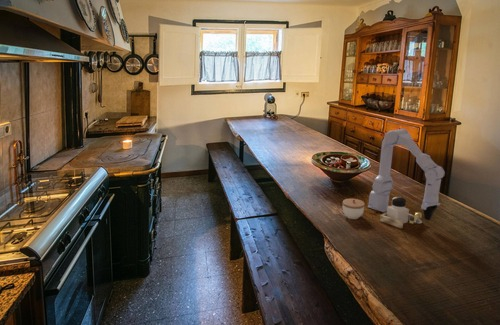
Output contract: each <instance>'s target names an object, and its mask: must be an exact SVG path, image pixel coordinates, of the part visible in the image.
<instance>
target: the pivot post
mask: <svg viewBox="0 0 500 325" xmlns="http://www.w3.org/2000/svg"><path fill="white" fill-rule="evenodd" d="M422 223H423V221H422V220H421V218H418V219H417V220H416V221H415V222H414V223H413V224H421V225H422Z"/></svg>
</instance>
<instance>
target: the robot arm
mask: <svg viewBox="0 0 500 325" xmlns="http://www.w3.org/2000/svg"><path fill="white" fill-rule="evenodd" d="M397 145H399V146H405V148H406V149H407V150H408V151H410V153H411V154H412V155H413V156H414V157H415V163H417V165H418V166H419V167H420V168H421V170H423V171H424V176H425V177H424V178H425V188H424V195H423V199H422V203H421V205H420V210H422V211H423V217H424V220H426V221H430V220H432V219H431V218H432V217H433V214H434V213H435V211H436V209H437V208H438V206H440V205H441V203H440V202H439V194H440V188H441V182H442V179H443V177H445V174H446V172H445V170H444V168H443V167H442V166H440V165H438V164H437V163H436V162H434V160H433V159H432V158H431V155H429V154H427V153H423V152H422V150H421V149H420V148H419V146H418V145H417V143H415V141H414V139H413V138H412V135H411V133H410V132H409V131H408V129H406V128H401V129H400V128H399V129H394V130H388V131H387V132H385V134H384V138H383V140H382V142H381V149H380V150H381V151H380V159H379V160H380V161H379V169H378V175H377V176H376V177H375V178H374V180H373V183H372V187H371V188H372V190H371V191H370V193H369V196H368V205H367V208H369V209H373V210H374V211H378V212H382V213H386V212H387V207H388V206H389V203H390V202H389V200H390V193H391V191H392V190H393V189H394V183H393V177H392V176H391V168H392V162H393V150H394V147H395V146H397Z"/></svg>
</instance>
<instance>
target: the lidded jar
mask: <svg viewBox="0 0 500 325" xmlns="http://www.w3.org/2000/svg"><path fill="white" fill-rule="evenodd" d="M342 211H343V214H344V215H345V217H346V218H348V219H349V220H357V219H358V220H359V218H361V217H362V216H363V214H364V211H365V202H364V201H363V200H361V199H357V198H345V199H343V201H342Z"/></svg>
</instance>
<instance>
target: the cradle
mask: <svg viewBox="0 0 500 325" xmlns="http://www.w3.org/2000/svg"><path fill="white" fill-rule="evenodd" d="M386 215H387V211H385V212H383V213H382V214H380V215H379V216H380V217H379V218H380V219H379V222H382V223H385V224H387V225H391V226H393V227H396V228H399V229H404V224H405V223H404V222H402V221H399V220H396V219H393V218H390V217H387V216H386ZM414 215H415V214H412V213H409V214H408V222H410V217H413V216H414Z"/></svg>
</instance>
